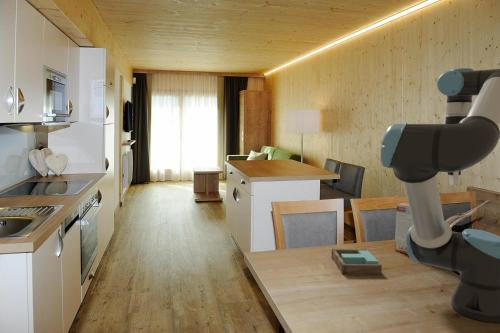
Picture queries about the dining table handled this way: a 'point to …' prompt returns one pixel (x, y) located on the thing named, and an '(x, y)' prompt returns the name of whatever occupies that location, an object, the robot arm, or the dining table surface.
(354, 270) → the nest
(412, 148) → the robot arm
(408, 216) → the cracker box
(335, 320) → the dining table surface
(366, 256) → the t block
